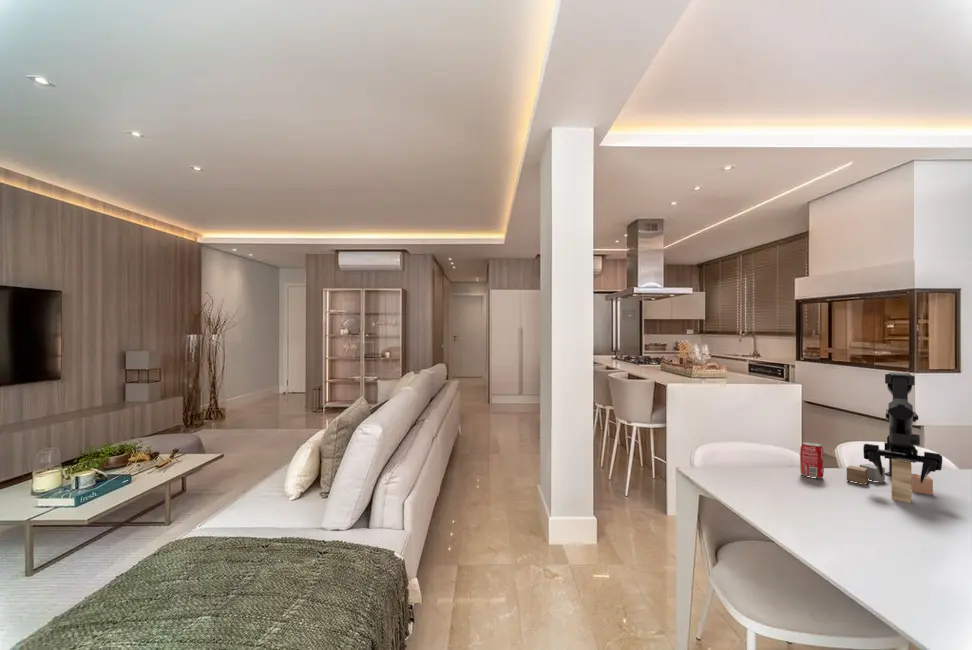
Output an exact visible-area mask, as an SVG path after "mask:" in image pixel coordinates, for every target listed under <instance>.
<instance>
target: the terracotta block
mask: <svg viewBox="0 0 972 650" xmlns="http://www.w3.org/2000/svg"><path fill="white" fill-rule="evenodd" d="M920 479H921V474H916V473H911V490H912V491H914V492H913V493H917V492H920V493H919V494H923V493H925V494H924V495H930V494H931V496H932V495H933V494H934V480H933V479H932V478H931V477H930V476H929V475H927V476H926V478H925V480H924V481H923V483H921V481H920ZM912 491H911V492H912ZM933 496H934V495H933Z"/></svg>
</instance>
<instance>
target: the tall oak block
mask: <svg viewBox="0 0 972 650" xmlns="http://www.w3.org/2000/svg"><path fill="white" fill-rule="evenodd" d="M911 474H912V462H911V461H904V460H898V459H892V476H891V500H893V501H900V502H904V503H909V504H911V503H912V491H911Z"/></svg>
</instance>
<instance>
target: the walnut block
mask: <svg viewBox="0 0 972 650" xmlns="http://www.w3.org/2000/svg"><path fill="white" fill-rule="evenodd" d="M847 480H848V481H853V482H857V483H862V484H865V483H866V482H867V481H868V468H863V467H860V466H855V465H851V464H850V465H848V466H847V467H846V481H847ZM868 482H869V481H868ZM868 482H867V483H868ZM857 483H856V484H857ZM867 483H866V484H867ZM866 484H865V485H866Z"/></svg>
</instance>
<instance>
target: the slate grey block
mask: <svg viewBox="0 0 972 650" xmlns="http://www.w3.org/2000/svg"><path fill="white" fill-rule="evenodd" d="M859 467H863V468H868V479H869V480H872V481H884V480H885V481H886V479H885V478H886V474H885V473H886V468H885V467H883V466H882V469H883V476H881V475H880V473H879V471H878V469H877V467H876V466H875V465H874V464H873V463H863V464H861V463H860V464H859Z"/></svg>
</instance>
